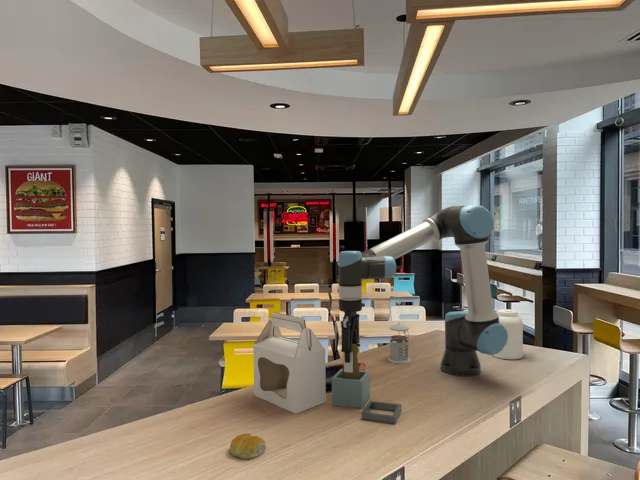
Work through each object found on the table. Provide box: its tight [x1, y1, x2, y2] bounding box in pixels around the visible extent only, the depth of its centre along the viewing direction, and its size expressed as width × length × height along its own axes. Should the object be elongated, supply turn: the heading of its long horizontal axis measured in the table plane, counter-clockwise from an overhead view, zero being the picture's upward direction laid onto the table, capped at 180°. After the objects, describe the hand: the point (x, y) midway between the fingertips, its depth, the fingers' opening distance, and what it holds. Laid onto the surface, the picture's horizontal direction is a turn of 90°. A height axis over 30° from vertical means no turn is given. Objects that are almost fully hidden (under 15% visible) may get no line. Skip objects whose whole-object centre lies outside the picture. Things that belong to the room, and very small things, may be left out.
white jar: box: [492, 308, 524, 360], centre depth 197 cm, size 12×12×20 cm
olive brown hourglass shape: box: [342, 344, 360, 380], centre depth 149 cm, size 6×6×11 cm
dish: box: [325, 361, 366, 391], centre depth 167 cm, size 16×31×5 cm, turn 125°
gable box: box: [252, 312, 327, 415], centre depth 151 cm, size 22×13×28 cm, turn 44°
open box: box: [331, 369, 371, 409], centre depth 149 cm, size 10×10×8 cm
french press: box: [387, 301, 412, 364], centre depth 194 cm, size 10×12×25 cm
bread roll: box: [229, 433, 267, 460], centre depth 116 cm, size 8×9×4 cm
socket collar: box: [361, 400, 403, 425], centre depth 137 cm, size 10×10×2 cm
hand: (351, 369), depth 149 cm, fingers closed on olive brown hourglass shape, 5 cm apart
